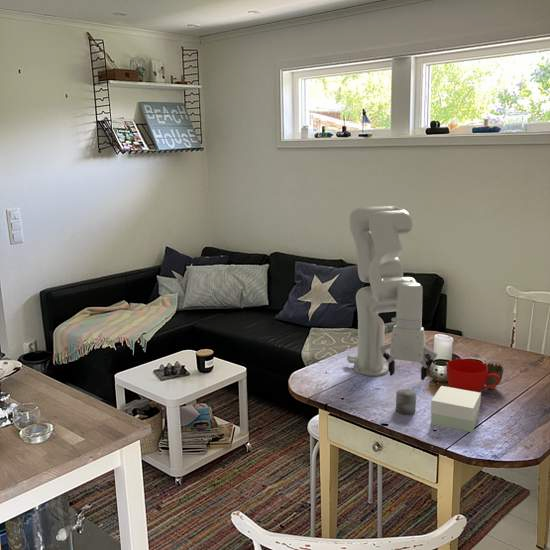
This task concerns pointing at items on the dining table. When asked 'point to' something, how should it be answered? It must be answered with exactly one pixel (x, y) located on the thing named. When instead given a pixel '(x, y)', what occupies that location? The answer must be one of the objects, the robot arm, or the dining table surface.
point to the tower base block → (454, 422)
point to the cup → (493, 370)
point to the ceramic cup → (468, 375)
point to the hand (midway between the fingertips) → (407, 376)
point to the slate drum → (405, 402)
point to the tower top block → (456, 403)
